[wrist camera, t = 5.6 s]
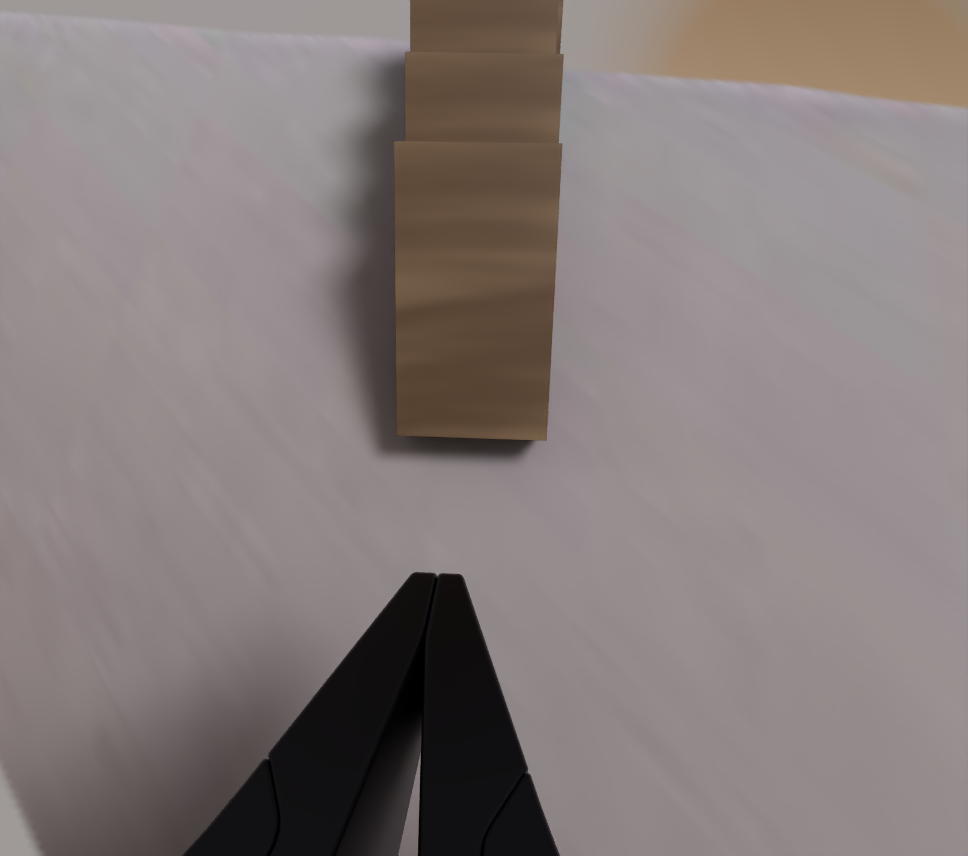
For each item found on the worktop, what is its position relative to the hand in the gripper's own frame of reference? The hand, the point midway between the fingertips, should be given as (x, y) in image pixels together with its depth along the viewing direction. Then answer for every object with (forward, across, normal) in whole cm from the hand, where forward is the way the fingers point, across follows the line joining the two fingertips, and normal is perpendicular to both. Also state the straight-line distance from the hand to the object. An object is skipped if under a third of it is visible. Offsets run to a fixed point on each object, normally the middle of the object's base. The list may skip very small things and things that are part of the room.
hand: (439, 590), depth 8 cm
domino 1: (+9, 0, +2) cm, 9 cm away
